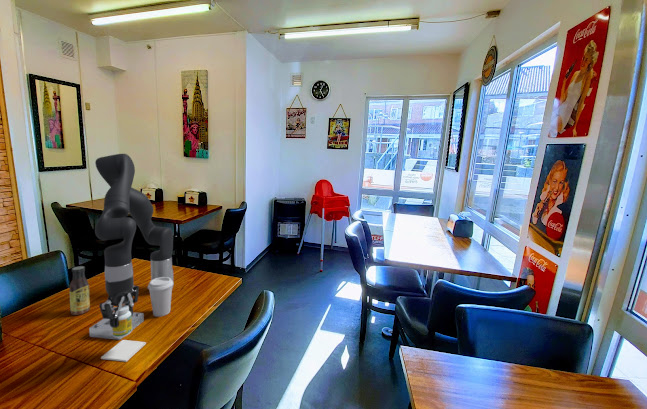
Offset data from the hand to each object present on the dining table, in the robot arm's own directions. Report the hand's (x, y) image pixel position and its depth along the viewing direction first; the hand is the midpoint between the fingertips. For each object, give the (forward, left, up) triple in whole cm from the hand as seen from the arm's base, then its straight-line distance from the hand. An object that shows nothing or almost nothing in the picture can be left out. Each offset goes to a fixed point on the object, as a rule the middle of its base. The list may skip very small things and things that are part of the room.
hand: (122, 321), depth 91 cm
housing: (-11, -12, -11) cm, 20 cm away
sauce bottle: (-19, -36, -12) cm, 42 cm away
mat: (0, 0, -11) cm, 11 cm away
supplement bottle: (0, 0, -5) cm, 5 cm away
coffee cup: (-24, -3, -12) cm, 27 cm away
